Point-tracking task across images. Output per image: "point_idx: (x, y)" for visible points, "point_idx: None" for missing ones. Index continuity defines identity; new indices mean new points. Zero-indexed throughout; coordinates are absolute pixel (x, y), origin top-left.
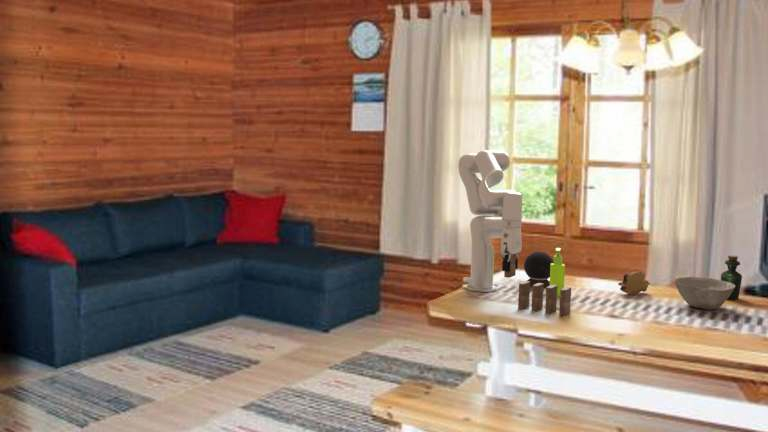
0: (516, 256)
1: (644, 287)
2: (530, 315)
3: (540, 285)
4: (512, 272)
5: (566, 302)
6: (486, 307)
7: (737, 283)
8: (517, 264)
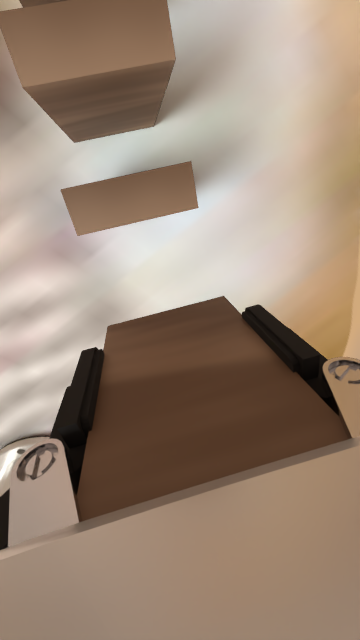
0: (71, 473)
1: None
2: (229, 72)
3: (87, 1)
4: (168, 325)
5: None
6: (241, 303)
7: None
8: (77, 375)
